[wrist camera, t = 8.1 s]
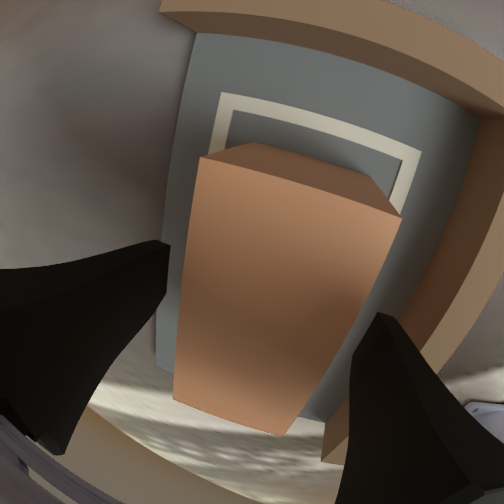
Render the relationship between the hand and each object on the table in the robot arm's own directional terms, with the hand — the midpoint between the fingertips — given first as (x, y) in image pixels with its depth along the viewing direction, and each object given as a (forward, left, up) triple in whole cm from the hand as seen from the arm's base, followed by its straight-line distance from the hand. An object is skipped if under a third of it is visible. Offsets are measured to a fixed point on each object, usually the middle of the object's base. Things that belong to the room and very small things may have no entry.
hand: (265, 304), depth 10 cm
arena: (-1, 0, -4) cm, 4 cm away
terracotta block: (0, 0, -3) cm, 3 cm away
